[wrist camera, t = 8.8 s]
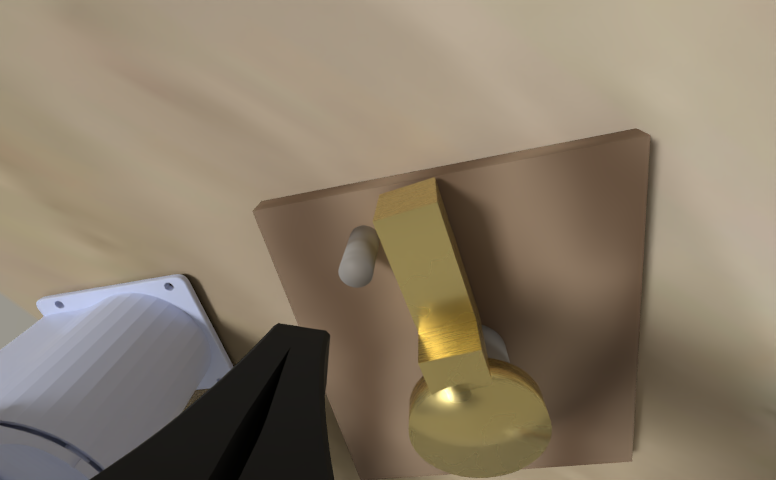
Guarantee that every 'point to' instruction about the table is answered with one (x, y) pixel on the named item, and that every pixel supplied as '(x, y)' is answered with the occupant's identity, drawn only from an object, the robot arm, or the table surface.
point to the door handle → (455, 350)
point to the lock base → (484, 292)
